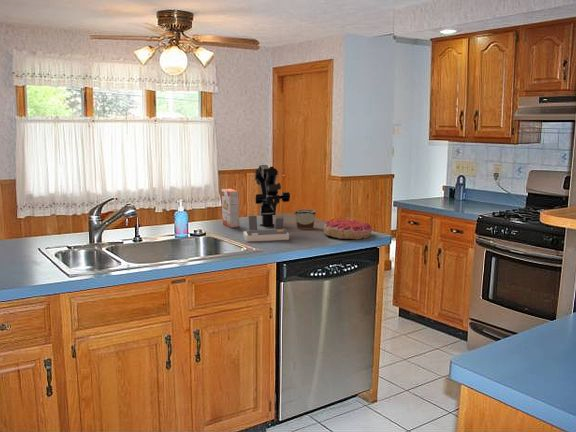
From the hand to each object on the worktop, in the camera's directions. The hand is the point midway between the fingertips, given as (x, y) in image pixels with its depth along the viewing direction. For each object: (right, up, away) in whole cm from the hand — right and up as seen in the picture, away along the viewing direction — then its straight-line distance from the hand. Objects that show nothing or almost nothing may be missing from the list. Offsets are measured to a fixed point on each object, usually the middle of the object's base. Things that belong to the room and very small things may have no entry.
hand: (274, 210), depth 292 cm
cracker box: (-26, -9, +25) cm, 37 cm away
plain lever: (-11, -11, -12) cm, 20 cm away
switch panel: (-4, -14, -10) cm, 18 cm away
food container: (+17, -10, +18) cm, 27 cm away
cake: (+38, -13, -3) cm, 41 cm away
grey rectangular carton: (+2, -11, -9) cm, 15 cm away
